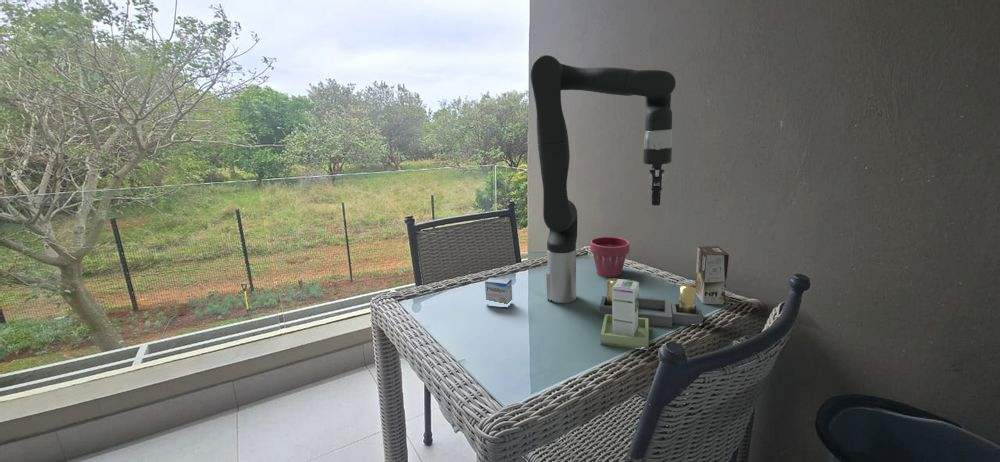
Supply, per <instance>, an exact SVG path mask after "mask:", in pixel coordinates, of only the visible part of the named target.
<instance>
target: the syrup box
mask: <svg viewBox="0 0 1000 462" xmlns="http://www.w3.org/2000/svg"><path fill="white" fill-rule="evenodd" d="M616 279H617V281H616V282H615V284H614V285H613V287H612V334H616V335H624V336H632V337H636V334H637V332H638V313H639V312H640V311H639V308H640V307H639V296H640V289H639V287H640V282H639V281H637V280H632V279H625V278H623V279H620V278H616Z"/></svg>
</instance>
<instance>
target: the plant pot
mask: <svg viewBox="0 0 1000 462" xmlns="http://www.w3.org/2000/svg"><path fill="white" fill-rule="evenodd" d="M589 247H590V249H589V251H590V252H591V253H592V255H593V261H594V265H595V269H596V273H597V275H599V276H600V277H603V278H604V277H605V278H616V277H620V276H621V275H622V272H623V268H624V265H625V262H626V257H627V254H629V252H630V241H629V240H627V239H625V238H622V237H616V236H600V237H599V236H598V237H595V238H592V239H591V240H590V245H589ZM619 275H620V276H619Z"/></svg>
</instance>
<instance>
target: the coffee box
mask: <svg viewBox="0 0 1000 462" xmlns="http://www.w3.org/2000/svg"><path fill="white" fill-rule="evenodd" d="M696 250H697V252H696V253H697V254H696V268H695V269H696V270H695V283H694V286H696V294H695V296H697V298H698V299H699V300H700V302H701V303H702V304H703V305H704V304H705V305H707V304H708V305H724V304H725V297H726V289H727V287H726V286H727V278H728V267H729V258H730V254H729V253H728V252H726V251H725V250H724V249H723V248H722V247H720V246H718V245H717V246H716V245H715V246H714V245H711V246H708V245H707V246H697V249H696ZM723 303H724V304H723Z"/></svg>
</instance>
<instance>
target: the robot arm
mask: <svg viewBox="0 0 1000 462" xmlns="http://www.w3.org/2000/svg"><path fill="white" fill-rule="evenodd" d="M529 77H530V82H531V87H532V92H533V97H534V98H533V99H534V102H535V110H536V111H535V112H536V134H537V136H536V137H537V148H538V149H537V150H538V156H539V157H538V158H539V164H540V165H539V166H540V173H541V175H540V176H541V182H542V188H543V189H542V190H543V192H542V193H543V202H542V203H543V204H542V207H543V209H542V211H543V216H542V217H543V222H544V223H545V226H546V227H547V228H548V229H549V233H548V238H547V241H546V251H547V252H546V254H547V272H546V276H545V277H546V300H547V299H549V300H548V301H551V300H552V301H551V302H553V301H554V302H553V303H556V302H557V304H569V303H573V302H575V301H576V300H577V240H578V210H577V206H576V205H575V204H574V202H572V201H571V200H570V199H569V198H568V196H569V195H568V189H567V188H568V186H567V185H568V176H569V175H568V174H569V169H570V157H571V155H570V144H569V141H570V140H569V135H568V133H569V132H568V129H567V124H566V120H565V116H564V111H563V107H562V96H561V95H562V91H571V90H572V91H585V92H593V93H600V94H606V95H613V96H614V95H615V96H624V97H628V96H629V97H630V96H639V97H645V110H646V111H645V124H644V125H645V126H644V127H645V129H644V131H645V132H644V137H643V164H645V165H651V168H652V169H649V182H650V183H649V184H650V186H651V205H652V206H661V196H662V195H661V192H662V191H663V189H662V186H663V185H664V177H665V169H663V168H662V165H667V164H671V162H672V158H673V155H672V154H673V153H672V152H673V130H672V129H673V111H672V108H671V104H672V102H671V101H672V99H671V98H672V93H673V92H674V91H675V87H676V82H677V81H676V78H675V76H674V75H673V74H672V73H671V72H670V71H666V70H660V69H645V70H644V69H641V70H640V69H639V70H638V69H631V68H624V67H623V68H621V67H607V66H606V67H577V66H572V65H567V64H564V63H561V62H560V61H559V60H558V59H557V58H556V57H554V56H552V55H549V54H548V55H547V54H545V55H544V54H543V55H540V56H538V57H537V58H536V59H535V60H534V61H533V63H532V65H531V67H530V71H529Z"/></svg>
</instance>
